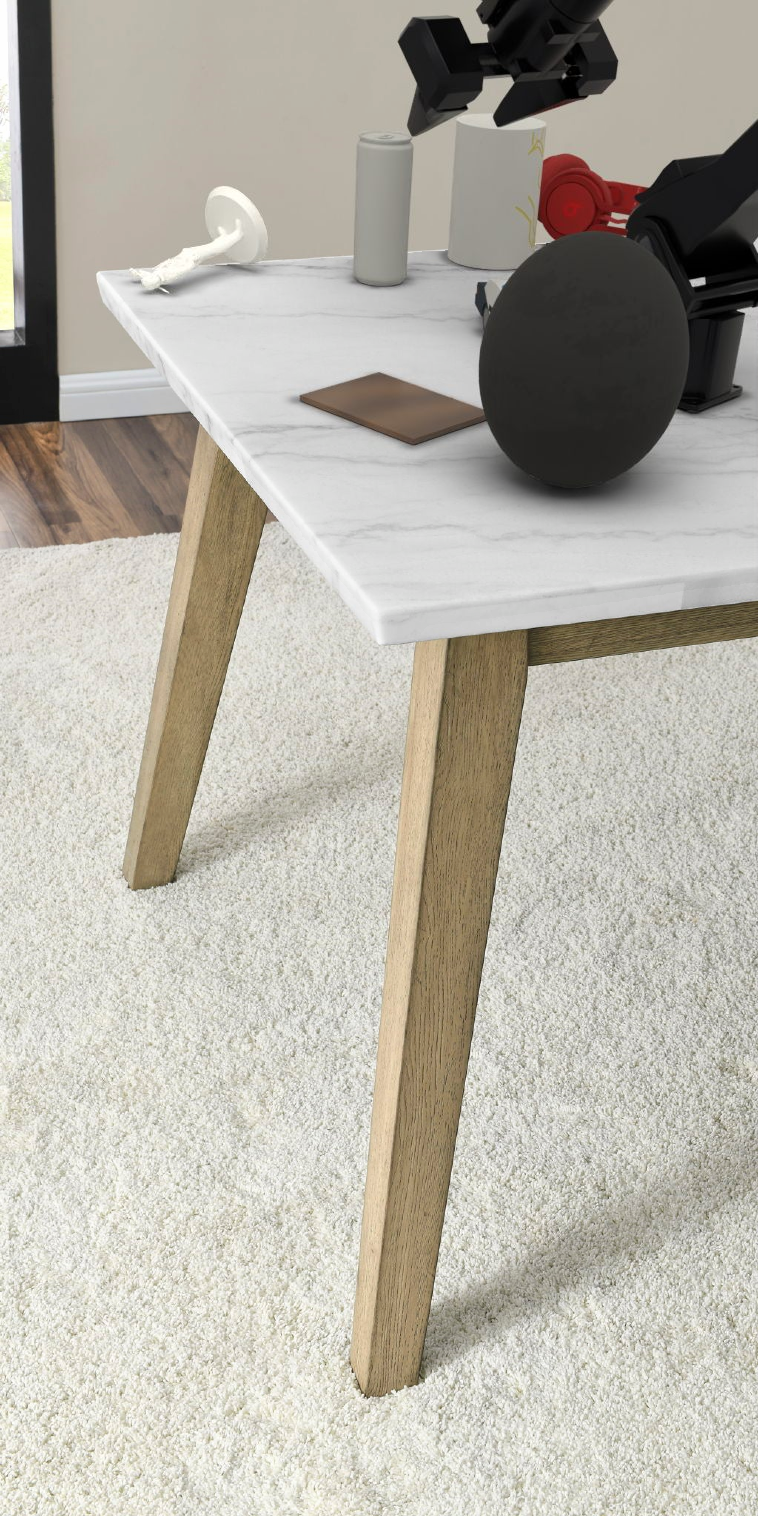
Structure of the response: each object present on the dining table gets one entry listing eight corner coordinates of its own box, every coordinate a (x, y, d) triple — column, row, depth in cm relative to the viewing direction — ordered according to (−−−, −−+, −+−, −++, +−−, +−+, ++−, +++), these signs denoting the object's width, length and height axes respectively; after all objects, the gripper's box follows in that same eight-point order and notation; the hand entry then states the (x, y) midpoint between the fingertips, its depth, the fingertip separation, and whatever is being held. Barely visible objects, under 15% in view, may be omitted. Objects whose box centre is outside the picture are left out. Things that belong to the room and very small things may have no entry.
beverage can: (345, 283, 124) (349, 137, 118) (362, 270, 128) (366, 127, 121) (398, 289, 123) (405, 142, 116) (413, 276, 127) (420, 133, 120)
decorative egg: (486, 435, 94) (507, 200, 86) (672, 458, 92) (712, 219, 84) (453, 506, 84) (473, 247, 76) (661, 533, 82) (704, 271, 74)
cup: (536, 271, 130) (550, 131, 124) (448, 267, 130) (457, 127, 124) (530, 249, 137) (543, 115, 130) (446, 245, 137) (455, 111, 130)
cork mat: (492, 417, 97) (493, 412, 97) (413, 445, 92) (413, 439, 92) (378, 377, 103) (379, 371, 103) (299, 400, 99) (299, 394, 98)
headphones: (530, 141, 144) (715, 175, 147) (514, 213, 148) (695, 244, 151) (556, 170, 131) (757, 206, 135) (538, 248, 135) (734, 281, 138)
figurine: (244, 179, 120) (149, 243, 114) (280, 258, 124) (189, 324, 118) (193, 193, 125) (99, 255, 119) (229, 268, 129) (139, 332, 123)
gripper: (612, -111, 105) (497, 32, 118) (424, -115, 95) (320, 42, 108) (674, 21, 105) (552, 150, 118) (492, 32, 95) (380, 172, 108)
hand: (454, 126), depth 113 cm, fingers open, 9 cm apart
